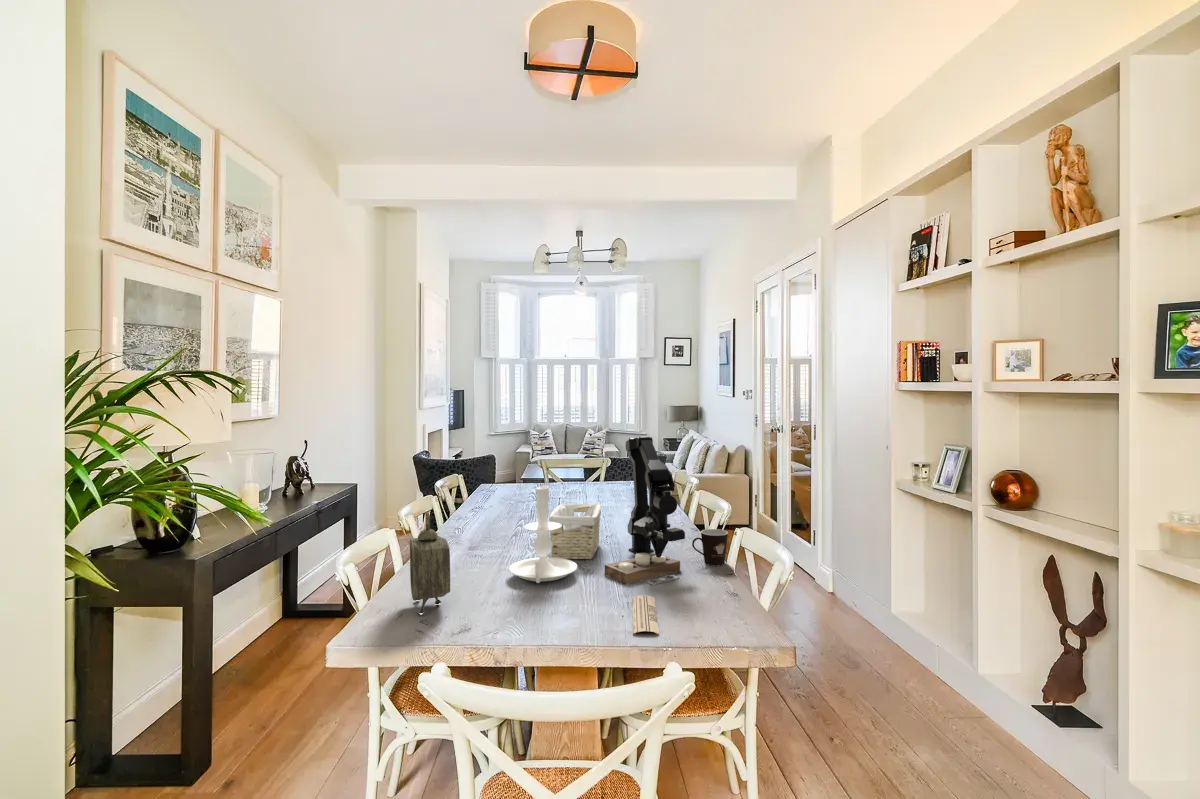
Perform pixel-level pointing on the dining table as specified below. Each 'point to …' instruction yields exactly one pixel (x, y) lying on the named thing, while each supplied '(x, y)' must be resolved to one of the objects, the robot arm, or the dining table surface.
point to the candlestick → (542, 548)
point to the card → (661, 579)
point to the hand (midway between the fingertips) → (658, 557)
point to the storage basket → (575, 531)
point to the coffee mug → (713, 546)
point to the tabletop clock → (429, 566)
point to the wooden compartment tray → (641, 570)
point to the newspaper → (644, 614)
